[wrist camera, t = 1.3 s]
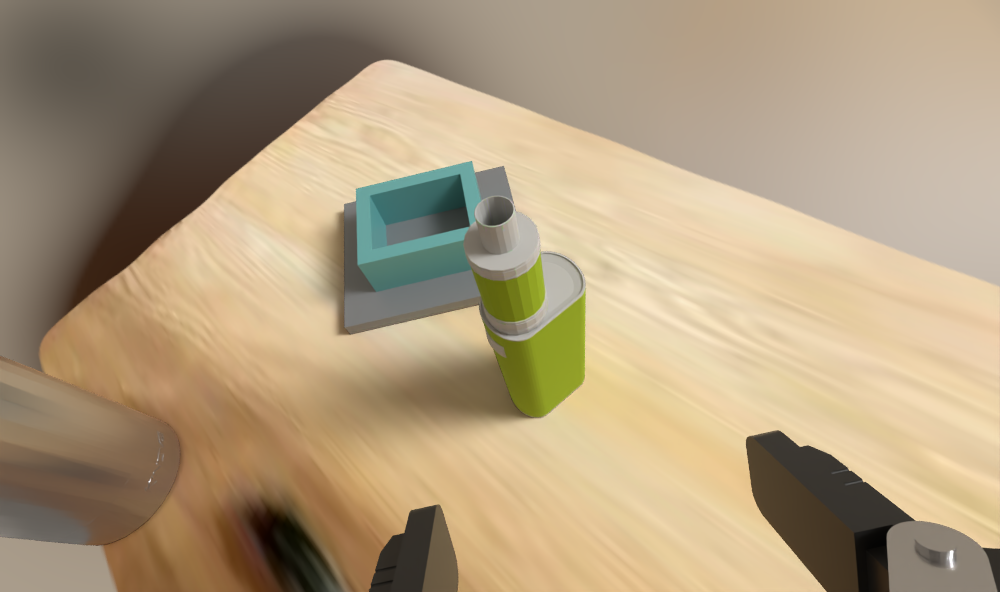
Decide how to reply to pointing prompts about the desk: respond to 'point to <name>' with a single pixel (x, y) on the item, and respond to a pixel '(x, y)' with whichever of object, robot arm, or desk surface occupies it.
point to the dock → (413, 245)
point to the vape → (528, 306)
